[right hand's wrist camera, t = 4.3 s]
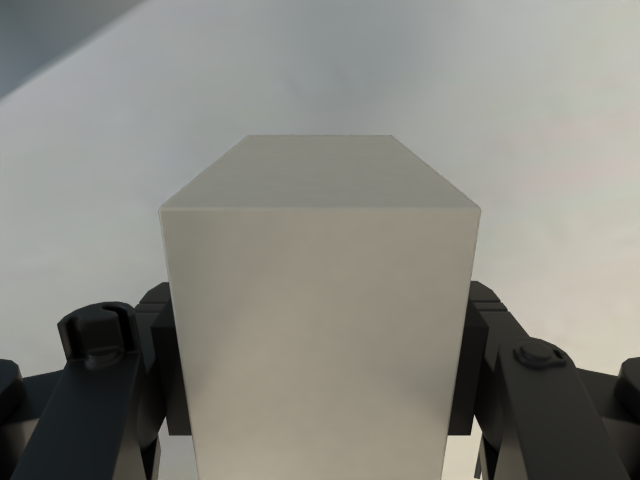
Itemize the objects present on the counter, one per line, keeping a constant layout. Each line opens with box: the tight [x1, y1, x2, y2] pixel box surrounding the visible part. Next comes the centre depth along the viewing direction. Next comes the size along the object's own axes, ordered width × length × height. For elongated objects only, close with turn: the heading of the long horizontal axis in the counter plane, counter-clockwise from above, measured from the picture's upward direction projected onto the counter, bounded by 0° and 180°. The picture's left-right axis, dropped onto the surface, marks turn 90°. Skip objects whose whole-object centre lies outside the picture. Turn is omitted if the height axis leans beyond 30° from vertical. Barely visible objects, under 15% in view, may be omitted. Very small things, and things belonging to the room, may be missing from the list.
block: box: [158, 135, 481, 480], centre depth 12 cm, size 5×8×8 cm, turn 0°
